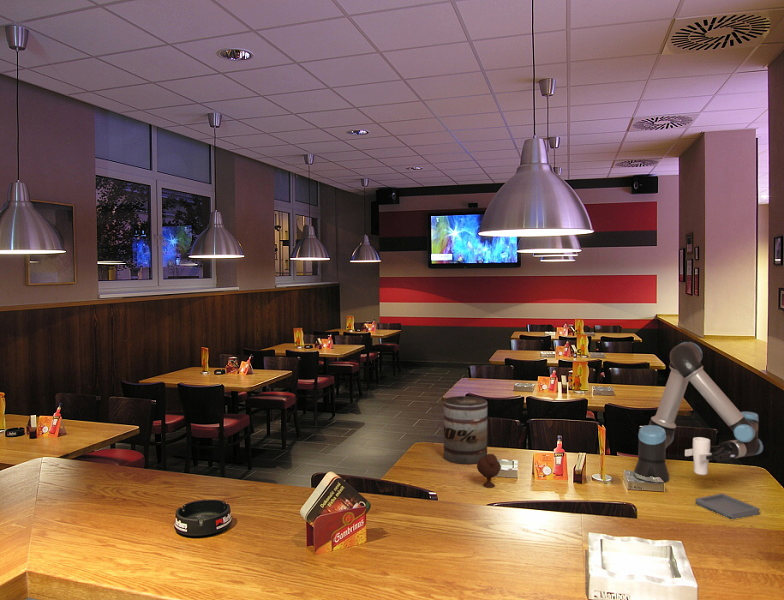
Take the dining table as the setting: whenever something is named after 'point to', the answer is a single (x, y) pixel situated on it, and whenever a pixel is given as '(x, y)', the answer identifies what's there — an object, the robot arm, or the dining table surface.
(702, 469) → the drinking glass
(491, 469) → the ice cream bowl
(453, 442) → the barrel
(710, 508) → the serving tray
